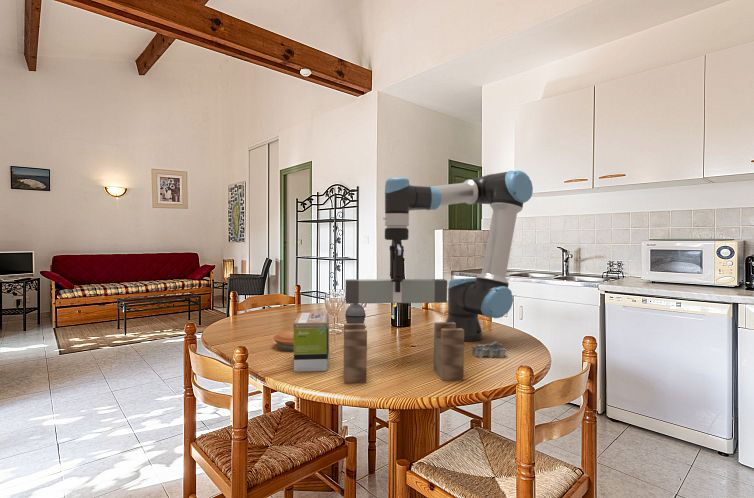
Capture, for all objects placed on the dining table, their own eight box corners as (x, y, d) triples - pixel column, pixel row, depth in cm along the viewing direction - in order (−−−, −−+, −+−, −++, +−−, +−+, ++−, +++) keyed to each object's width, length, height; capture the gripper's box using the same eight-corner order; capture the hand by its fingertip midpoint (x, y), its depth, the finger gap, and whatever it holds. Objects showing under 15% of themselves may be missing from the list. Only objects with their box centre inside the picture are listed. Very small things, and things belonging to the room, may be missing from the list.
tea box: (298, 356, 135) (298, 311, 134) (329, 356, 135) (329, 311, 135) (292, 372, 120) (293, 321, 119) (327, 371, 120) (328, 321, 120)
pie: (263, 348, 143) (263, 334, 143) (292, 338, 157) (292, 325, 157) (298, 355, 136) (299, 340, 136) (326, 344, 150) (326, 330, 150)
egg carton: (501, 352, 143) (501, 340, 143) (507, 359, 135) (507, 346, 135) (470, 351, 143) (470, 340, 143) (474, 358, 136) (475, 346, 136)
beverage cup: (362, 351, 141) (363, 293, 141) (342, 349, 143) (342, 292, 142) (367, 345, 149) (368, 290, 148) (347, 344, 150) (348, 289, 149)
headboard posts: (453, 368, 125) (454, 322, 124) (463, 380, 115) (464, 330, 114) (343, 370, 121) (344, 323, 121) (344, 382, 112) (344, 331, 111)
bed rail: (443, 300, 135) (443, 279, 135) (446, 302, 131) (447, 280, 131) (345, 301, 132) (345, 279, 131) (345, 303, 128) (345, 281, 127)
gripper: (381, 227, 138) (381, 296, 139) (388, 227, 121) (387, 306, 122) (403, 227, 139) (403, 296, 140) (413, 227, 122) (412, 305, 123)
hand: (396, 300), depth 131 cm, fingers closed on bed rail, 4 cm apart
